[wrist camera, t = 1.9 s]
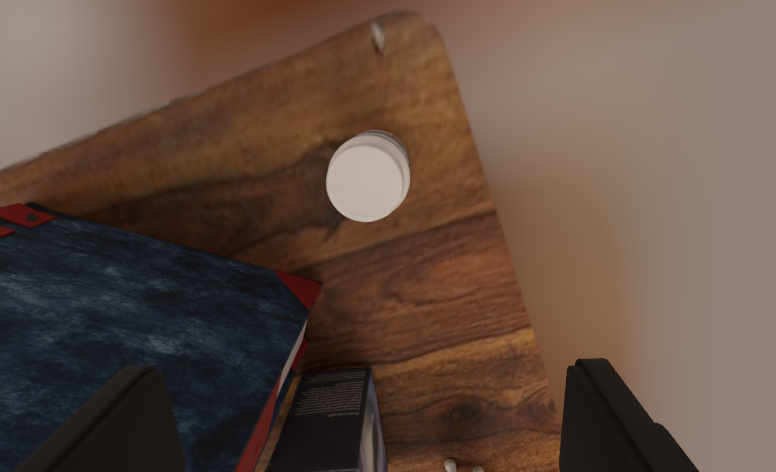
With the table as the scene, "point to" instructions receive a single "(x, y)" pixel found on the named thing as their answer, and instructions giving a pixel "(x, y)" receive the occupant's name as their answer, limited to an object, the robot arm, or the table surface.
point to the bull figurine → (451, 466)
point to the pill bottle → (369, 176)
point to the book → (142, 334)
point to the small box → (332, 425)
